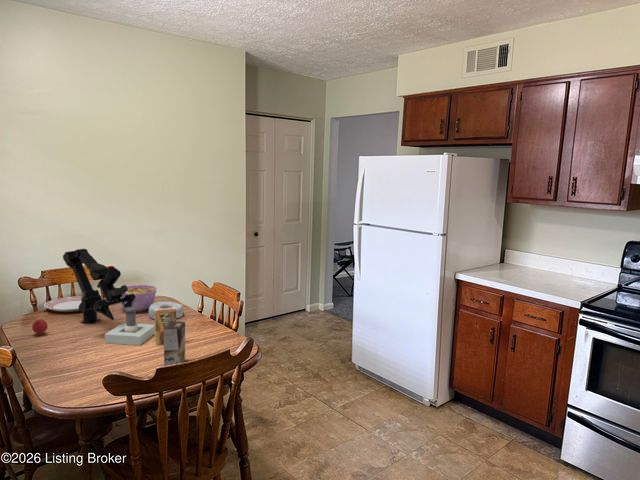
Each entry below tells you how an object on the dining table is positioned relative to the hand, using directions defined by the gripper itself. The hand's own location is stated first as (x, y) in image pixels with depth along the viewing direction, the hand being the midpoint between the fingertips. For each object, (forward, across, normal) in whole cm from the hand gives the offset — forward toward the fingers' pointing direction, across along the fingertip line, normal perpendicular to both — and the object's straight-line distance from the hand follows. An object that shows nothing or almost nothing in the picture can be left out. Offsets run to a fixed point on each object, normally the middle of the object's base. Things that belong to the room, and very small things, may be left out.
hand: (122, 317), depth 205 cm
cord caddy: (+10, 0, +1) cm, 11 cm away
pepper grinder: (+10, 0, +1) cm, 11 cm away
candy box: (+22, +7, -10) cm, 25 cm away
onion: (-13, -24, +25) cm, 37 cm away
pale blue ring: (+1, +30, +12) cm, 32 cm away
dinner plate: (-34, +6, +47) cm, 58 cm away
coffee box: (+37, -5, -26) cm, 45 cm away
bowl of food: (-14, +26, +26) cm, 39 cm away
